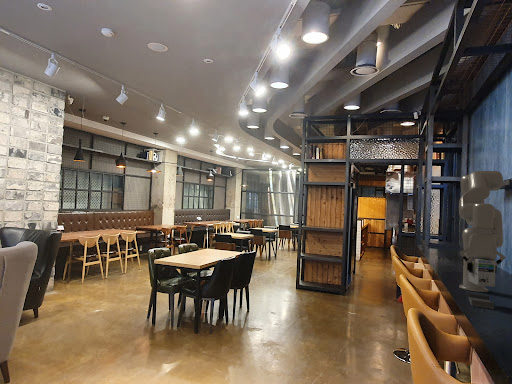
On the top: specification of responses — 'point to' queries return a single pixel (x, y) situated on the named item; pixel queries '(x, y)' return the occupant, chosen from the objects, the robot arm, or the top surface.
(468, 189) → the robot arm
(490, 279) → the light bulb box
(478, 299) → the tray
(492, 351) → the top surface
